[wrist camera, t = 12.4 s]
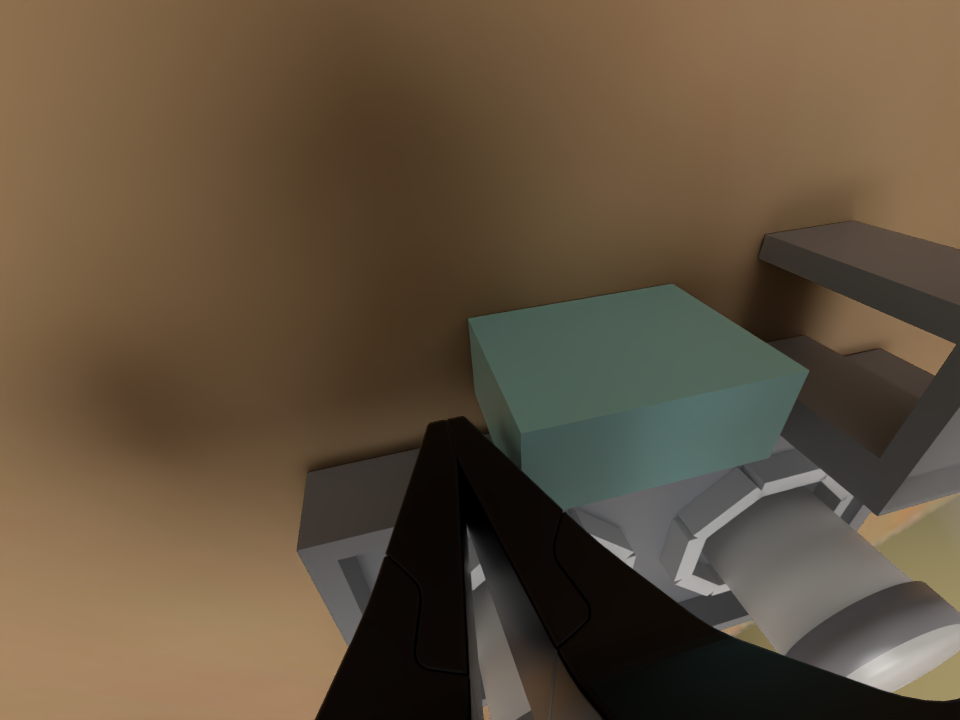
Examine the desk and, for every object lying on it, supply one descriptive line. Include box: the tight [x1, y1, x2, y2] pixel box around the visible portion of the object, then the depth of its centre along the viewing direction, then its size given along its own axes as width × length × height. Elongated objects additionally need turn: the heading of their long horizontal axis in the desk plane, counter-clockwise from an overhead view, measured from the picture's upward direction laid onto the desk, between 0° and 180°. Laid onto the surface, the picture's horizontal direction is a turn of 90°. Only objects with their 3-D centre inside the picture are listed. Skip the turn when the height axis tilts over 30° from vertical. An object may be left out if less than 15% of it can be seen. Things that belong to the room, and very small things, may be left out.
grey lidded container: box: [701, 486, 960, 693], centre depth 16 cm, size 5×5×6 cm
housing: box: [297, 221, 960, 707], centre depth 14 cm, size 21×20×6 cm
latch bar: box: [468, 284, 810, 510], centre depth 10 cm, size 6×2×4 cm, turn 93°
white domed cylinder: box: [472, 580, 535, 720], centre depth 14 cm, size 5×5×6 cm
